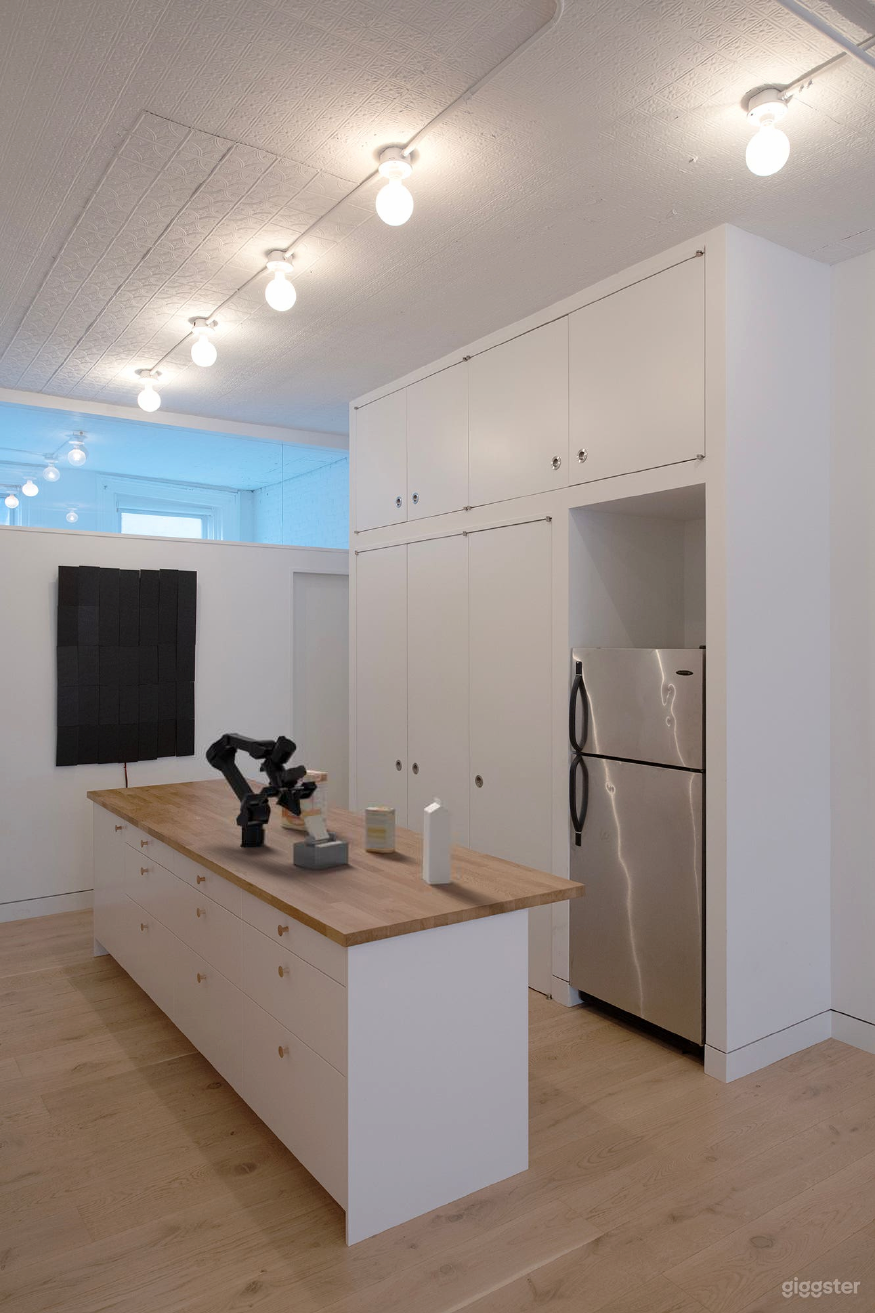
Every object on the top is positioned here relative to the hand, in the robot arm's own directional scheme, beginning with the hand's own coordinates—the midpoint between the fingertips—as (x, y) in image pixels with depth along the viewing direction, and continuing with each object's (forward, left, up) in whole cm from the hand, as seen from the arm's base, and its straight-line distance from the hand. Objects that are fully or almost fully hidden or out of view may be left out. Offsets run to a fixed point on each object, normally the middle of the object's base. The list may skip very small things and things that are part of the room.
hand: (299, 815), depth 259 cm
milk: (+40, -26, -13) cm, 49 cm away
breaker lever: (+7, -7, -6) cm, 12 cm away
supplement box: (+24, +9, -13) cm, 28 cm away
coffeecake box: (-3, +43, -13) cm, 45 cm away
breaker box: (+7, -7, -12) cm, 16 cm away
